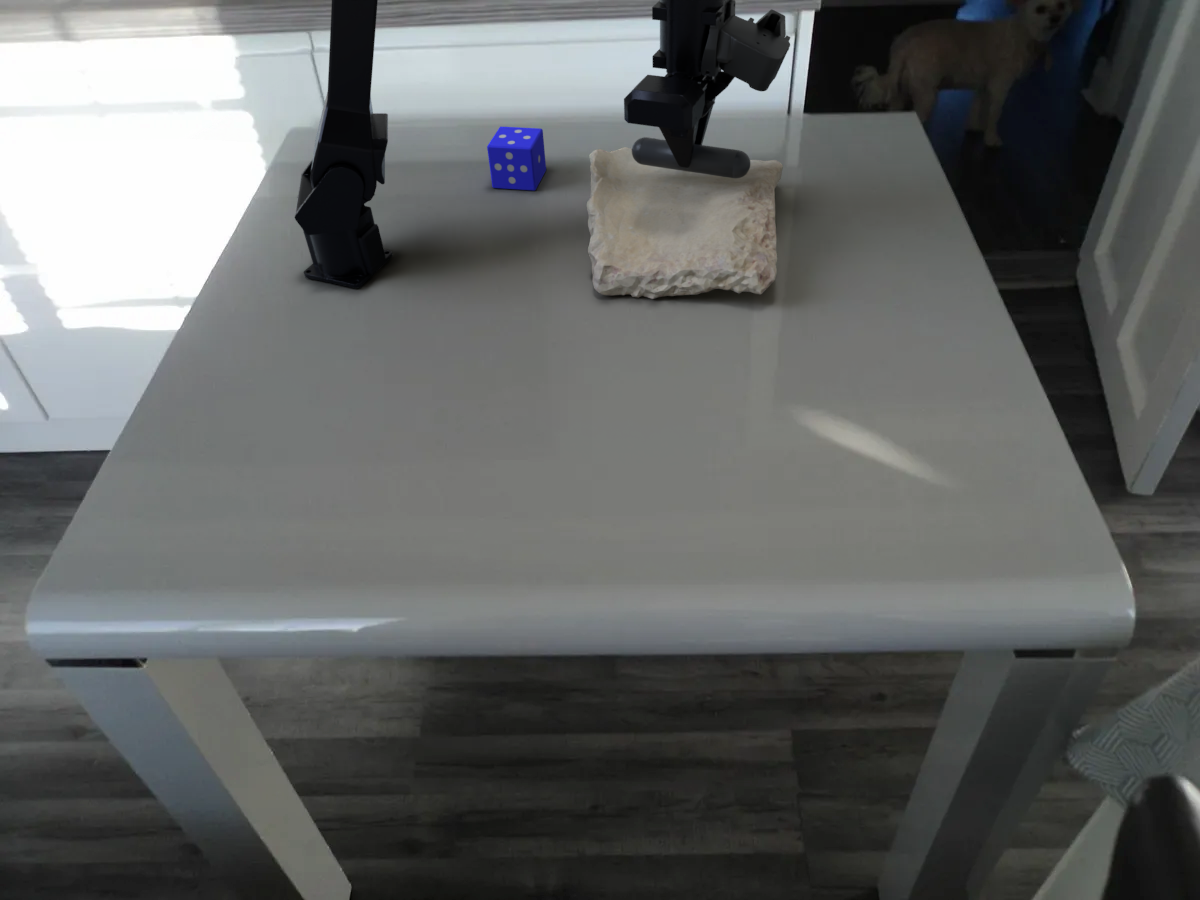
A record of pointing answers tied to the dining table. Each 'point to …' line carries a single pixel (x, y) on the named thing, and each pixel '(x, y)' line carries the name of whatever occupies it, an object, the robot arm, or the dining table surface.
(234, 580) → the dining table surface
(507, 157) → the die
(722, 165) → the dark grey capsule
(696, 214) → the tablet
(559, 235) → the dining table surface
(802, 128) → the dining table surface
